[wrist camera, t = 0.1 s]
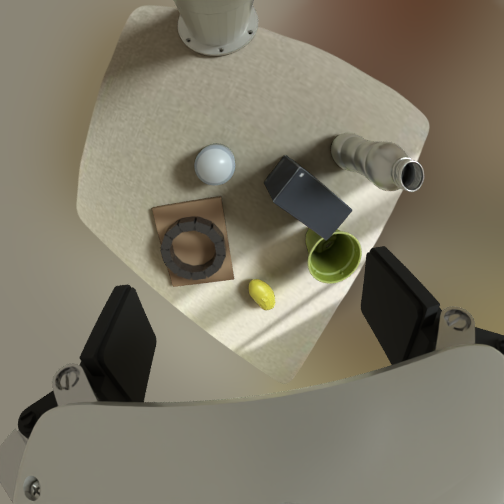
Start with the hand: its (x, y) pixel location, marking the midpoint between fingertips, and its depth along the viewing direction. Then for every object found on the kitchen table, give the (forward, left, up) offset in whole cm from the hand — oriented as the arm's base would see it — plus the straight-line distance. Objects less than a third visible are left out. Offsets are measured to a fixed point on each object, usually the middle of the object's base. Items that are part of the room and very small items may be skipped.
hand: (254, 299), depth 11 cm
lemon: (+26, +2, -37) cm, 45 cm away
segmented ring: (+14, -9, -37) cm, 40 cm away
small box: (+6, +10, -37) cm, 39 cm away
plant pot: (+16, +14, -37) cm, 43 cm away
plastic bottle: (0, +19, -37) cm, 41 cm away
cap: (0, -3, -37) cm, 37 cm away
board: (+14, -9, -37) cm, 40 cm away
